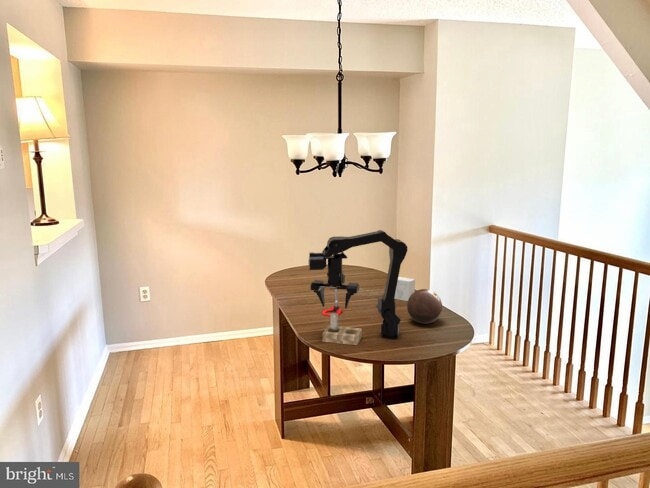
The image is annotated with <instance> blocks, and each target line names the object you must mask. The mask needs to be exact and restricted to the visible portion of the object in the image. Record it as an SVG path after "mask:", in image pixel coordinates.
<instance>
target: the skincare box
mask: <svg viewBox="0 0 650 488" xmlns="http://www.w3.org/2000/svg"><path fill="white" fill-rule="evenodd" d="M415 288H416V279H415V278H409V277H404V276H398V282H397V287H396V292H395V297H394V299H395V300H398V301H400V300H401V301H403V302H404V301H405V302H408V299H409V297H410V296H411V295H412V294H413V293H414V292H415V291H416V290H415Z"/></svg>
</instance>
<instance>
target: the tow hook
mask: <svg viewBox="0 0 650 488" xmlns="http://www.w3.org/2000/svg"><path fill="white" fill-rule="evenodd" d="M338 296H339V295H338V289H334V306H333V307H332V306H331V307H330V308H328V309H327V308H326V309H324V310H323V311H322V315H323V316H324V317H327V316H328V318H330V314H331V313H329V312H333V311H334V312H336V314H338V316H340V315H341V313H344V310H343V309H341V308H340V306H339V299H338Z"/></svg>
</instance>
